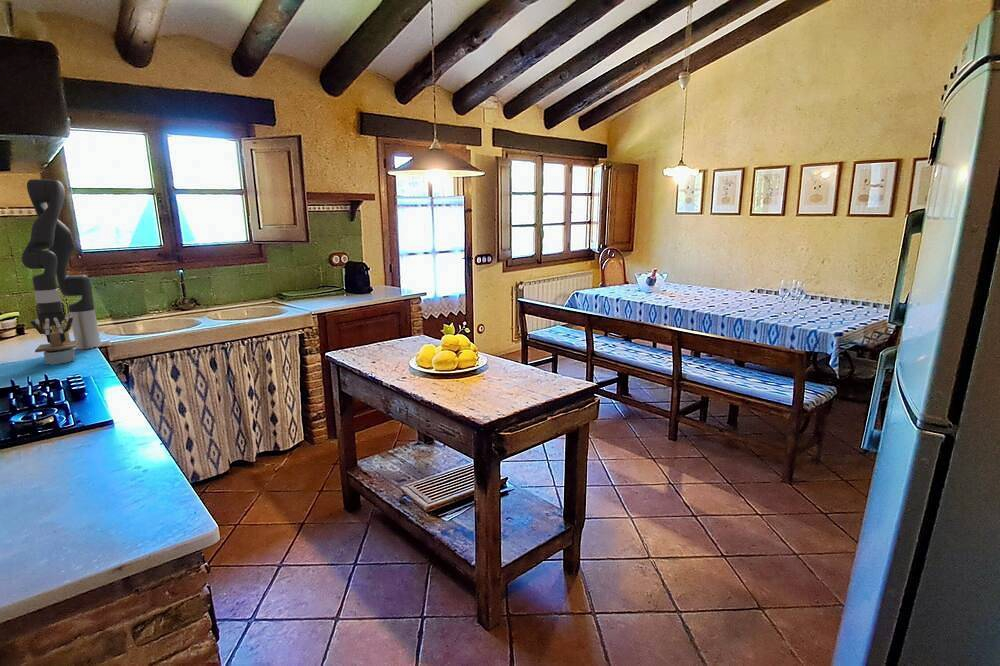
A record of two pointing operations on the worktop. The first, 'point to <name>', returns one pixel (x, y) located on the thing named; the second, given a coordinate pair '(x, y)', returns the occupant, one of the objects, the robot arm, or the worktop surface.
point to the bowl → (59, 356)
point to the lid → (56, 343)
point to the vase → (55, 329)
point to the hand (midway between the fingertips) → (57, 342)
